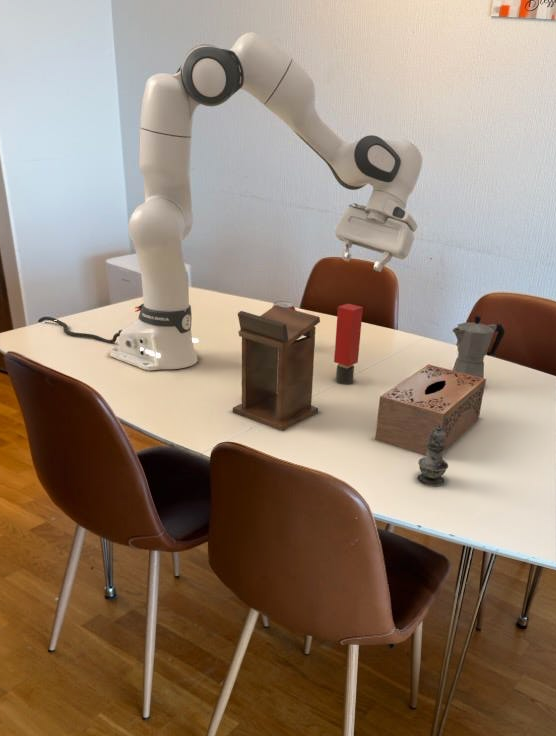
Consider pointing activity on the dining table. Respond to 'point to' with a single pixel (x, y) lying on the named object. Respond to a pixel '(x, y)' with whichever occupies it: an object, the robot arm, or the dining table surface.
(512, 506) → the dining table surface
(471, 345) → the coffeepot
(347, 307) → the tall red pillar
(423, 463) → the dark stone figurine
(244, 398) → the wooden lectern stand
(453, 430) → the tissue box cover
